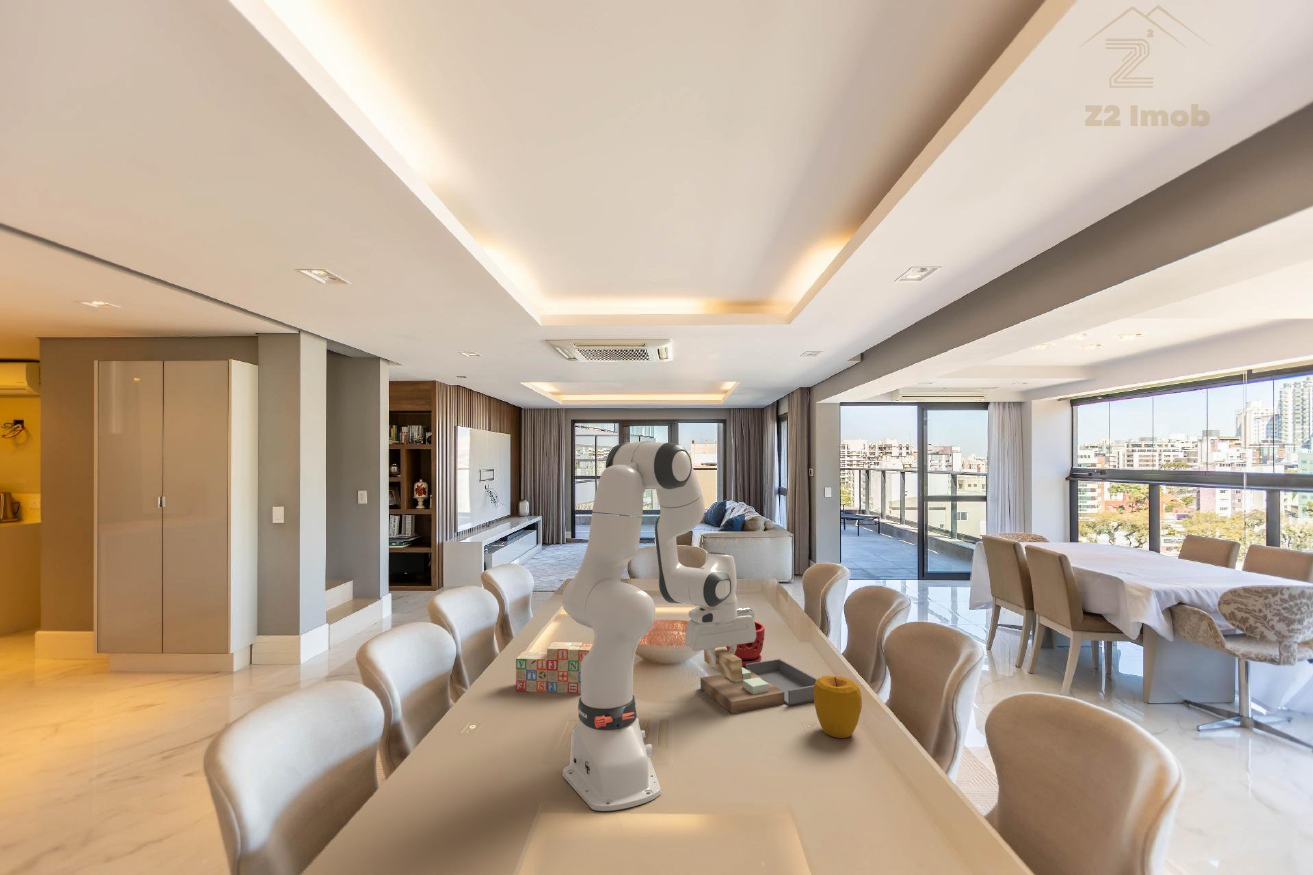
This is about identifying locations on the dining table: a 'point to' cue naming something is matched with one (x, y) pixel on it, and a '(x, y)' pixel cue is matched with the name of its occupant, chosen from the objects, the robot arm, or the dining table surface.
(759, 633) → the plant pot
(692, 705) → the dining table surface
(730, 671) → the wooden plank piece
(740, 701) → the board
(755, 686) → the tile
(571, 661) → the stack of blocks
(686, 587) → the robot arm
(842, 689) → the apple
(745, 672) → the tile
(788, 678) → the tray
